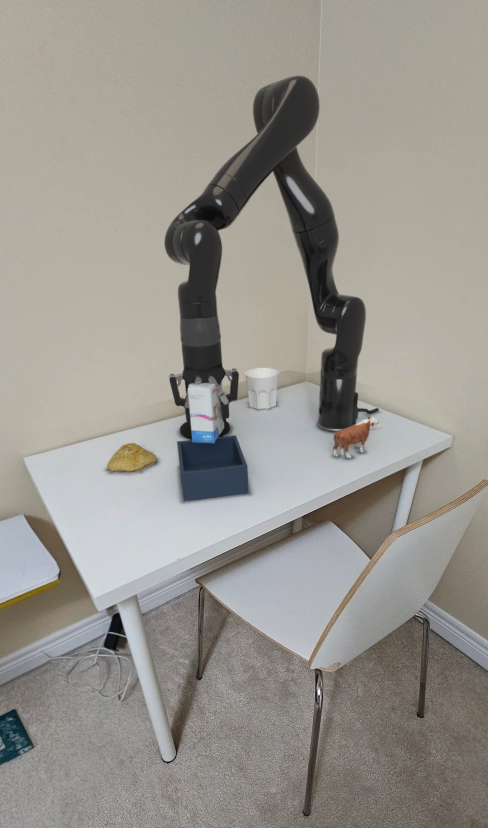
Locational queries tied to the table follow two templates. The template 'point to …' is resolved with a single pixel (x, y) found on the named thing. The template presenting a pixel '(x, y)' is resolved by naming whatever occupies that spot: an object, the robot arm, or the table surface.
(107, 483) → the table surface
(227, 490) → the box
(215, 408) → the ink box
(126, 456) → the fossil
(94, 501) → the table surface
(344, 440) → the bull figurine
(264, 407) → the cup
